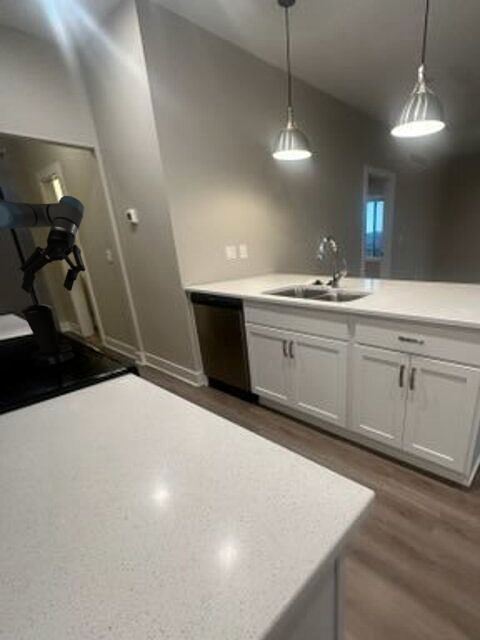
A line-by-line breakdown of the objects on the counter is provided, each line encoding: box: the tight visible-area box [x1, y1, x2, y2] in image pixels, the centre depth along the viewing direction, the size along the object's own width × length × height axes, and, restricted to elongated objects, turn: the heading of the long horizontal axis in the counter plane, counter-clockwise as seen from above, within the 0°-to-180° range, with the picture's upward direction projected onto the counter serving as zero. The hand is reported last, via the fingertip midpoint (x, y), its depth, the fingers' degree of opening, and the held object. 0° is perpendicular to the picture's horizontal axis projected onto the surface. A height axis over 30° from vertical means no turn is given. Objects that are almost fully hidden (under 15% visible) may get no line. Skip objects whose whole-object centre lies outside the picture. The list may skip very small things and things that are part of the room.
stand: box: [30, 344, 76, 370], centre depth 110 cm, size 11×11×4 cm
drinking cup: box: [20, 287, 61, 353], centre depth 106 cm, size 8×8×20 cm
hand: (46, 289), depth 109 cm, fingers open, 13 cm apart
